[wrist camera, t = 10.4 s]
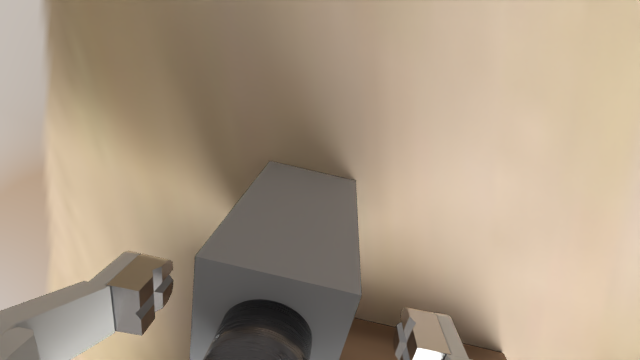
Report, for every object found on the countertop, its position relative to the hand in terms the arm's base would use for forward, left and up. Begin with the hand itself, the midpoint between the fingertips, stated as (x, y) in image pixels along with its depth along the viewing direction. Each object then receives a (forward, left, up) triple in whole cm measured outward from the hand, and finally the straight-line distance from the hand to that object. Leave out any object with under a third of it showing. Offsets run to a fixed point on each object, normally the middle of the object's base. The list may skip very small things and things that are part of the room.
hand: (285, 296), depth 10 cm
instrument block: (-1, 0, -5) cm, 5 cm away
